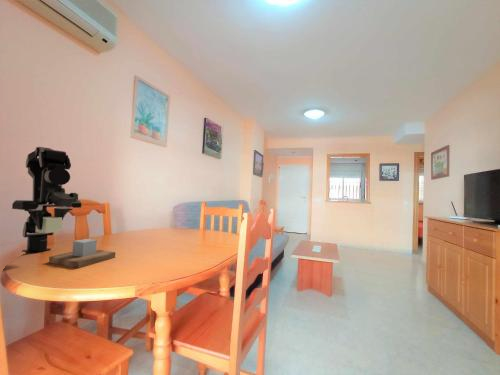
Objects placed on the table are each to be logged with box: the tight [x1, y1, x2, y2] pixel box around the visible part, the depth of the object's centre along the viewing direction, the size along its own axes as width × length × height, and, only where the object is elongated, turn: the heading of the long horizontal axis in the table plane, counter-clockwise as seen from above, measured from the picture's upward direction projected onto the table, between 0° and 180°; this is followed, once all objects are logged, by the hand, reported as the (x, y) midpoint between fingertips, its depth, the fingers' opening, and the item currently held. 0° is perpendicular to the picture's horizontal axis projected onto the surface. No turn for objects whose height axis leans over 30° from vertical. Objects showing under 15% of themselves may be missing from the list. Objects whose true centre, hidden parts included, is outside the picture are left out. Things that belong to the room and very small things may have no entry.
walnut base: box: [48, 248, 116, 269], centre depth 84 cm, size 14×14×2 cm
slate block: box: [71, 238, 97, 257], centre depth 84 cm, size 5×5×5 cm
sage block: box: [36, 215, 63, 233], centre depth 82 cm, size 5×5×5 cm
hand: (48, 228), depth 82 cm, fingers closed on sage block, 5 cm apart
